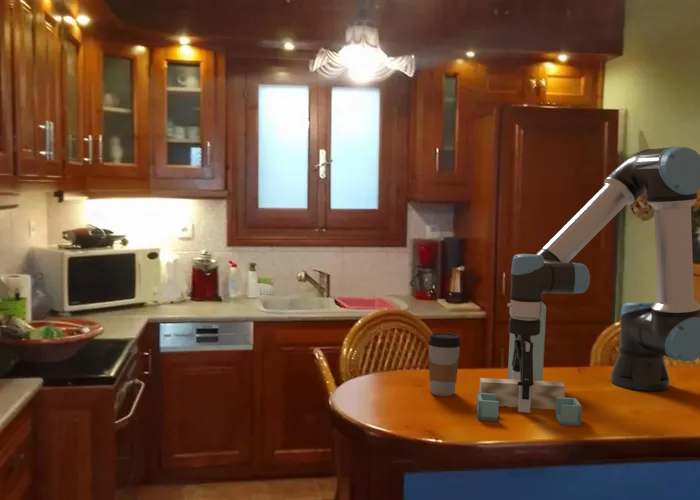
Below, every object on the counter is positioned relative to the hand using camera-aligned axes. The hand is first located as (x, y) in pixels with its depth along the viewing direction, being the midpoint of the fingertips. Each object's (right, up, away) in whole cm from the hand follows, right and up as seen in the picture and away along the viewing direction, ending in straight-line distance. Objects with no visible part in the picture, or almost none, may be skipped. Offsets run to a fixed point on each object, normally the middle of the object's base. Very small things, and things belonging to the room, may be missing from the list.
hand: (520, 404), depth 178 cm
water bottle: (+6, +1, +22) cm, 22 cm away
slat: (0, 0, 0) cm, 0 cm away
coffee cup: (-18, +1, +9) cm, 20 cm away
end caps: (-1, -1, -11) cm, 11 cm away
